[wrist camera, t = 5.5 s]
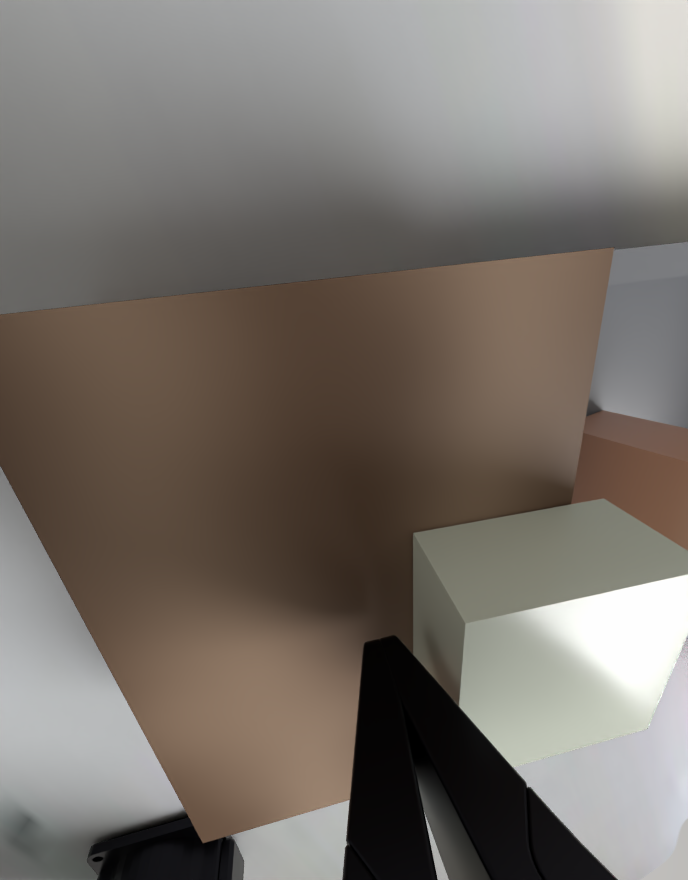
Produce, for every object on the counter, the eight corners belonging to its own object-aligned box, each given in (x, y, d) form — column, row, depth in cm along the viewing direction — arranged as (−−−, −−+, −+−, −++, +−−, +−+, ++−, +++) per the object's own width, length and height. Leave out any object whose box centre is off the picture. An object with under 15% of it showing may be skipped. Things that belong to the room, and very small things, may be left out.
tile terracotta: (706, 636, 10) (744, 598, 11) (770, 484, 8) (808, 455, 9) (543, 542, 14) (581, 520, 15) (560, 426, 12) (602, 410, 13)
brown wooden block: (223, 687, 16) (203, 842, 11) (86, 310, 10) (-77, 323, 5) (463, 628, 17) (530, 745, 13) (476, 267, 11) (614, 247, 7)
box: (469, 627, 18) (505, 688, 15) (485, 266, 11) (552, 256, 9) (664, 579, 19) (730, 627, 16) (773, 234, 13) (911, 216, 10)
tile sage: (413, 675, 10) (453, 784, 8) (412, 532, 8) (465, 623, 6) (569, 638, 11) (647, 728, 9) (603, 498, 9) (715, 568, 7)
